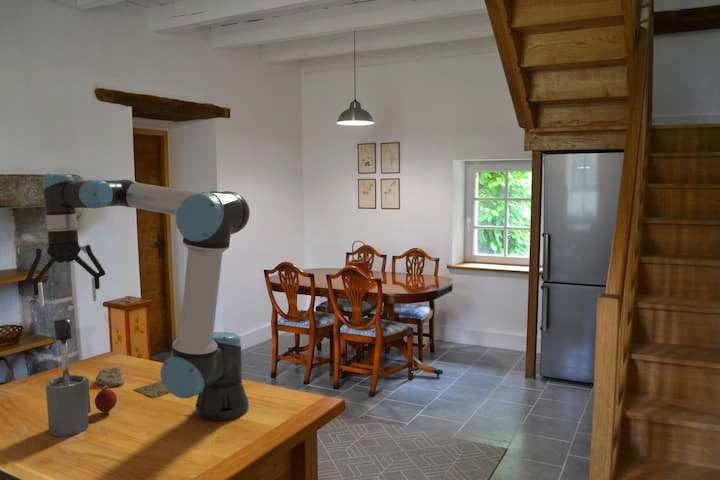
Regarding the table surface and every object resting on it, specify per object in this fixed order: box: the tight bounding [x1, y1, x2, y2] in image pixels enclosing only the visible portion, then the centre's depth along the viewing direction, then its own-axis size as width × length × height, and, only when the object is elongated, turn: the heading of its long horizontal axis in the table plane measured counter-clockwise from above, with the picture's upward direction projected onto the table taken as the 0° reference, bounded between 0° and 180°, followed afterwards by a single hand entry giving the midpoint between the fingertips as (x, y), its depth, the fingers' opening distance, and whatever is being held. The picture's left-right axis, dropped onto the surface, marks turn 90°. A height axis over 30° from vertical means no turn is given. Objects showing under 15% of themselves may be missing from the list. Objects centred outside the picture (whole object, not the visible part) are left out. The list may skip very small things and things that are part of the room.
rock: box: [95, 366, 125, 387], centre depth 190 cm, size 9×6×10 cm
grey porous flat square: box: [132, 380, 171, 399], centre depth 185 cm, size 12×12×1 cm
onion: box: [94, 385, 118, 414], centre depth 165 cm, size 6×6×8 cm
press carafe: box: [45, 374, 92, 438], centre depth 156 cm, size 9×11×14 cm
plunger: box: [53, 317, 79, 387], centre depth 153 cm, size 7×7×19 cm
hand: (68, 303), depth 164 cm, fingers open, 13 cm apart
